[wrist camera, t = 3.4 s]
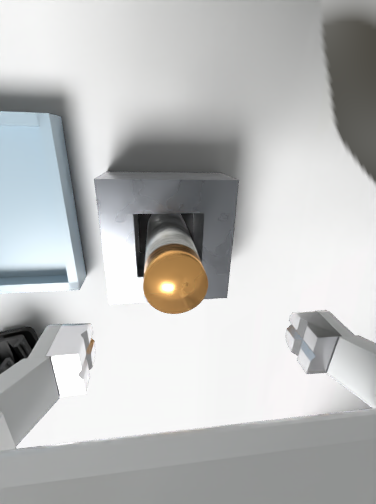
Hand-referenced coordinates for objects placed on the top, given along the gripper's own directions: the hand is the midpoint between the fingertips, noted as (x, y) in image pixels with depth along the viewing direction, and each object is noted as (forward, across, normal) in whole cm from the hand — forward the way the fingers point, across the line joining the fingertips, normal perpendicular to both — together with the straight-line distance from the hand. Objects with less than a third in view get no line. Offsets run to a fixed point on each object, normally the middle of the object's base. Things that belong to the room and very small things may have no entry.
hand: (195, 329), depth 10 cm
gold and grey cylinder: (+15, 0, 0) cm, 15 cm away
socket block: (+15, 0, 0) cm, 15 cm away
